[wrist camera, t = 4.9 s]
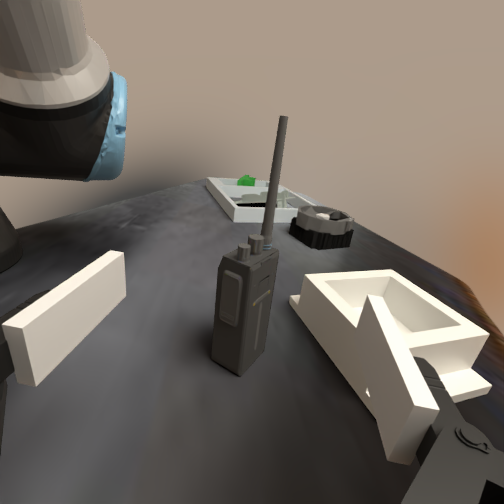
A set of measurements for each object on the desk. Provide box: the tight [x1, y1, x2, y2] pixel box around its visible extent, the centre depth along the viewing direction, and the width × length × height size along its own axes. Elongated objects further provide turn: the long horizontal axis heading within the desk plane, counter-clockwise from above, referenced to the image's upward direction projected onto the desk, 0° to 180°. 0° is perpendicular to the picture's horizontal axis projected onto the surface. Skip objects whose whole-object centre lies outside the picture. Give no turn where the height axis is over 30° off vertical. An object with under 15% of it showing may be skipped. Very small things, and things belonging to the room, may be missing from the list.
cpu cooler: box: [289, 205, 354, 250], centre depth 57 cm, size 10×6×10 cm
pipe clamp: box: [237, 175, 255, 186], centre depth 85 cm, size 10×4×4 cm, turn 169°
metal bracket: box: [234, 190, 295, 208], centre depth 74 cm, size 14×6×15 cm
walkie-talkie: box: [211, 116, 288, 376], centre depth 23 cm, size 5×3×20 cm
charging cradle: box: [289, 270, 492, 419], centre depth 30 cm, size 16×12×5 cm
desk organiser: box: [206, 177, 316, 223], centre depth 77 cm, size 30×21×3 cm
